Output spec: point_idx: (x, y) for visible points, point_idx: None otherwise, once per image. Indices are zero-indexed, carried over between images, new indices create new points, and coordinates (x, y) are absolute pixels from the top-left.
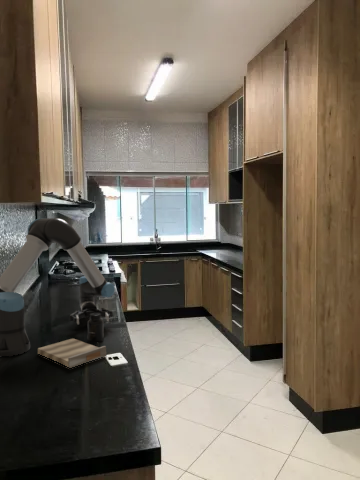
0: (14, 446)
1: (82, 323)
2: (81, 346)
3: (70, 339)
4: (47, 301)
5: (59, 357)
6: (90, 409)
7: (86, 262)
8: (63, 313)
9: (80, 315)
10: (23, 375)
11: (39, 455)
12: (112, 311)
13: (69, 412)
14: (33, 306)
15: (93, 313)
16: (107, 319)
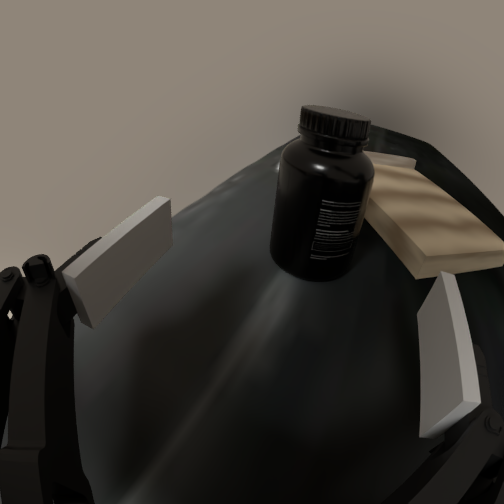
0: (431, 147)
1: None
2: (389, 193)
3: (434, 250)
4: None
5: (437, 186)
6: (376, 137)
7: None
8: None
9: (398, 502)
10: (481, 207)
11: (411, 138)
12: (5, 269)
13: (396, 143)
14: None
15: (347, 115)
16: (169, 230)
